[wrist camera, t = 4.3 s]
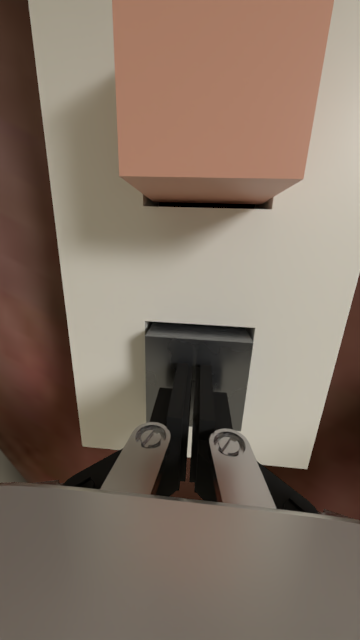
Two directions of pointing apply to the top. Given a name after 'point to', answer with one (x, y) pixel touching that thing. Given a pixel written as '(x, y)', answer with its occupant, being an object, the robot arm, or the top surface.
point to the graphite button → (199, 361)
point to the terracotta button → (216, 95)
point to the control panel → (198, 244)
